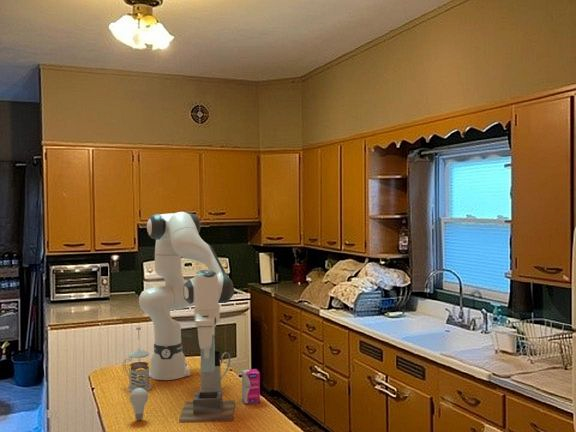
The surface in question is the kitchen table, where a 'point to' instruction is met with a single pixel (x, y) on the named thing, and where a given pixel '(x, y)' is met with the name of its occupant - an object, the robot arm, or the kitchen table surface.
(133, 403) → the lightbulb
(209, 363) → the peg
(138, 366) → the french press
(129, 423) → the kitchen table surface
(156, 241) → the robot arm
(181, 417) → the socket
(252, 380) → the supplement box
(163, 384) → the kitchen table surface
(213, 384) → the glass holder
